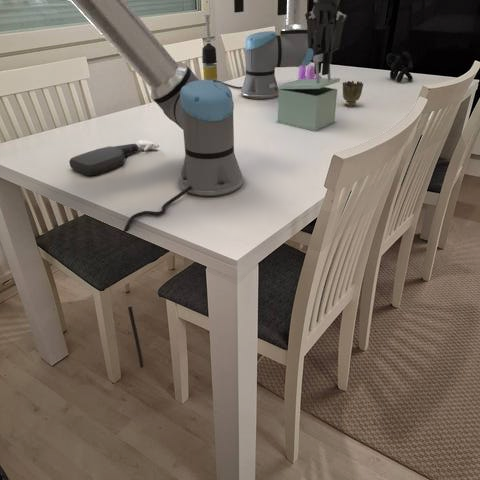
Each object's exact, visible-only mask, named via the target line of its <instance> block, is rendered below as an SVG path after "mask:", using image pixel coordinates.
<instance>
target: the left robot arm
mask: <svg viewBox="0 0 480 480" xmlns="http://www.w3.org/2000/svg"><path fill="white" fill-rule="evenodd" d="M68 2H71V3H72V4H73V5H74V6H75V7H76V8H77V9H78V11H79V12H80V13H81V14H82V15H83V16H84V17H85V19H87V20H88V22H89V23H90V24H92V26H93V27H94V28H95V29H96V30H97V31H98V32H99V33H100V34H101V36H102V37H103V38H104V39H105V40H106V41H107V42H108V43H109V44H110V45H111V47H113V48H114V50H115V51H116V52H117V53H118V55H120V57H122V59H123V60H124V61H125V62H126V63H127V64H128V66H130V67H131V68H132V70H134V71H135V73H136V74H137V75H138V76H139V78H141V79H142V80H143V81H144V82H145V83H146V84H147V85H148V87H149V96H150V98H151V99H152V100H153V102H155V103H156V104H157V106H158V107H159V108H160V109H161V110H162V112H163V114H164V115H165V117H167V118H168V119H169V120H170V121H171V122H173V123H175V125H177V127H179V128H180V129H181V130H182V131H183V141H184V142H183V143H184V154H185V155H184V158H183V164H182V168H181V171H180V177H179V178H180V179H179V183H180V184H179V185H180V188H181V189H182V191H180V192H179V193H177V194H176V195H174V197H172V198H170V199H169V200H167V201H166V202H165V203H164V204H163V205H162V206H161V210H159V211H152V210H144V211H140V212H139V211H138V212H137V213H133V215H131V216H130V217H129V219H128V220H127V222H126V224H125V226H124V229H123V233H127V232H128V231H129V229H130V227H131V225H132V223H133V221H134V220H135V219H136V218H139V217H142V216H147V215H148V216H161V215H164V214H166V209H167V207H169V205H171V204H172V203H174V202H175V201H177V200H178V199H180V198H181V197H183V196H184V195H185V194H190V195H194V196H199V197H221V196H224V195H229V194H232V193H234V192H235V191H237V190H239V189H240V188H241V187H242V185H243V174H242V171H241V168H240V165H239V163H238V160H237V157H236V154H235V132H234V131H235V130H234V127H235V126H234V109H235V104H234V100H233V98H234V97H233V93H232V90H231V88H230V87H229V86H226V85H224V84H222V83H220V82H221V81H220V82H214V81H210V80H204V79H202V80H201V79H199V78H198V77H197V75H195V73H194V72H193V71H192V70H191V69H190V67H189V66H188V65H187V64H186V62H177V61H176V60H175V59H174V58H173V57H172V55H171V54H170V53H169V51H167V49H166V48H165V47H164V46H163V45H162V44H161V42H160V40H158V38H157V37H156V36H155V35H154V33H152V31H151V30H150V29H149V28H148V27H147V25H146V24H145V23H144V22H143V20H142V19H141V18H140V17H139V16H138V14H137V13H136V12H135V10H134V9H133V8H132V7H131V6H130V4H128V2H127V1H126V0H68ZM244 3H245V2H244V0H233V9H234V11H233V12H234V13H242V12H243V13H245V8H244V7H245V6H244V5H245V4H244ZM276 14H277V16H284V15H286V14H287V0H277V13H276ZM127 309H128V315H129V319H130V324H131V328H132V333H133V337H134V341H135V346H136V352H137V356H138V357H137V358H138V361H139V368H141V369H143V368H144V359H143V355H142V349H141V345H140V344H141V343H140V340H139V336H138V330H137V325H136V321H135V316H134V311H133V307H132V306H128V307H127Z"/></svg>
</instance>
